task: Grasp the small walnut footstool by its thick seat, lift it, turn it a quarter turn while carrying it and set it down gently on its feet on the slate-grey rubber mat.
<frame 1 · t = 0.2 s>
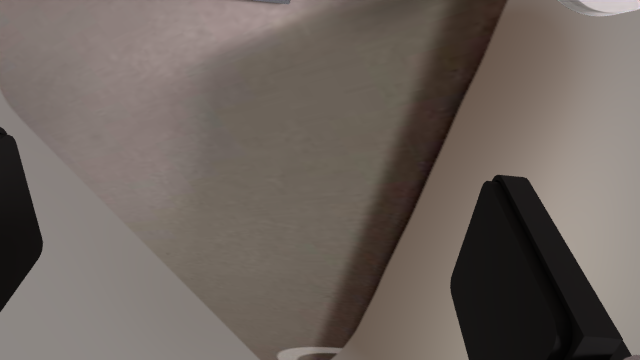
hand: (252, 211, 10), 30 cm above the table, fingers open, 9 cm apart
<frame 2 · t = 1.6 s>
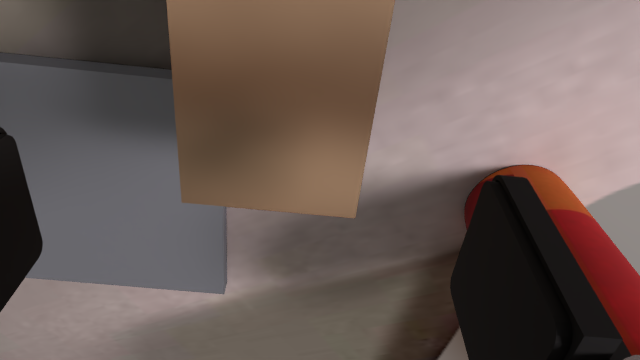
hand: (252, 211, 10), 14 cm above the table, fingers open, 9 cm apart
paper cup: (514, 203, 28), on the table
mat: (115, 183, 27), on the table
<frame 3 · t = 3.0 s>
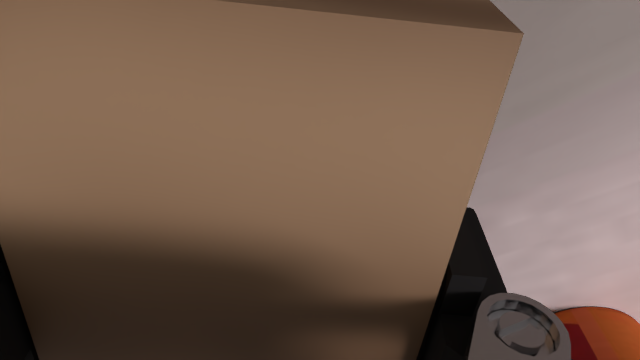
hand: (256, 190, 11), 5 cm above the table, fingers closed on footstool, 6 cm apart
paper cup: (573, 347, 21), on the table
footstool: (276, 101, 15), on the table, touching gripper
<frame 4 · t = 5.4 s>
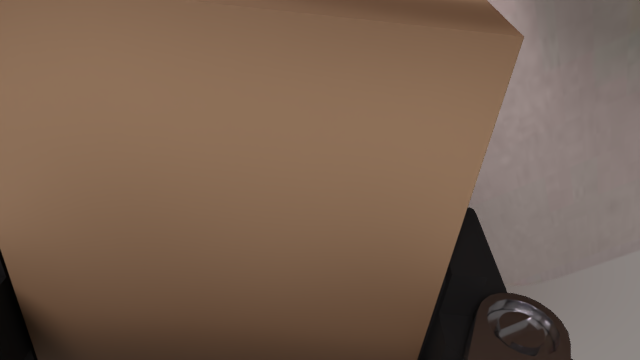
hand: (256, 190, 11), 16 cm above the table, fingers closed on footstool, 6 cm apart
footstool: (276, 102, 15), point 12 cm above the table, touching gripper
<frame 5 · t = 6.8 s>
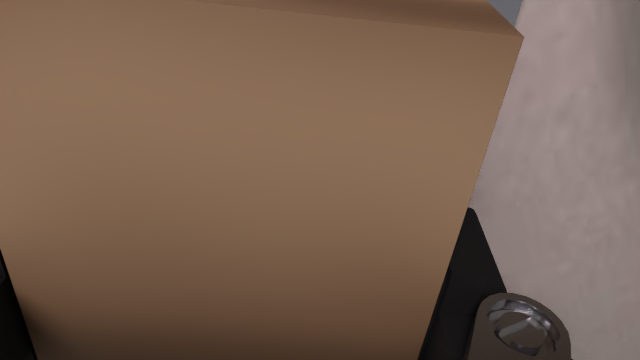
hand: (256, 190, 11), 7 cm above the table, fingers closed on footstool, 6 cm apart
mat: (280, 67, 17), on the table
footstool: (276, 102, 15), point 3 cm above the table, touching gripper
when the fingers open (6 cm above the table, at t = 8.0 s): footstool stays where it is, resting on mat.
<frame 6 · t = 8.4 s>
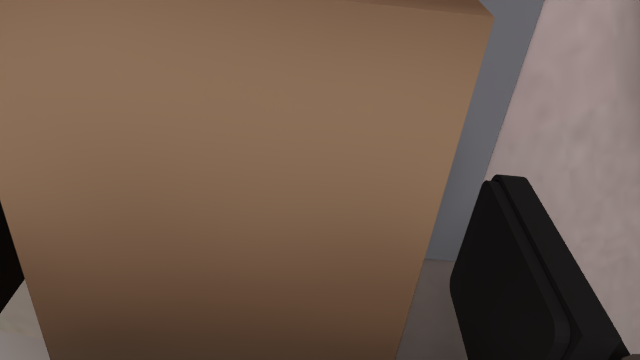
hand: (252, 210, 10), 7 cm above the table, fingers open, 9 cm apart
mat: (280, 82, 16), on the table
footstool: (272, 93, 15), point 1 cm above the table, touching mat
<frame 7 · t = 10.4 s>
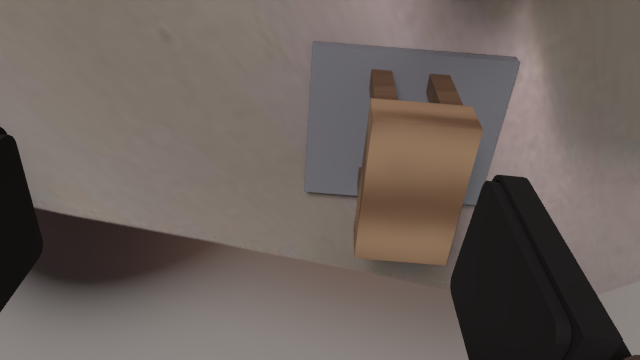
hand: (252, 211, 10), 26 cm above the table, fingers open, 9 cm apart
mat: (401, 126, 38), on the table
footstool: (400, 132, 37), point 1 cm above the table, touching mat
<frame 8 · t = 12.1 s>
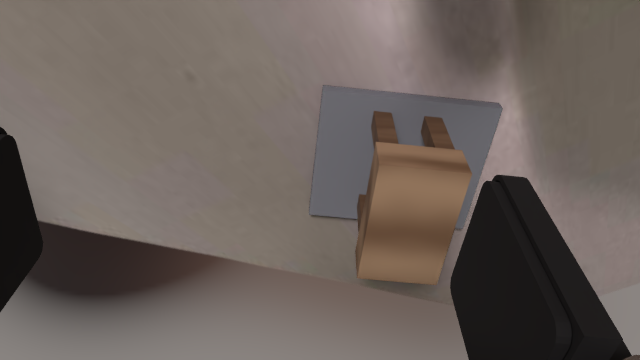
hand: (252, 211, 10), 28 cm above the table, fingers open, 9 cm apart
mat: (397, 159, 42), on the table
footstool: (396, 165, 42), point 1 cm above the table, touching mat
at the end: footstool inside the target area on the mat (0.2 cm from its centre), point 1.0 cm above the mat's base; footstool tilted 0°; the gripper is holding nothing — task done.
